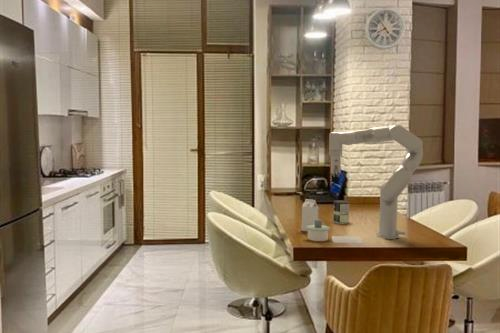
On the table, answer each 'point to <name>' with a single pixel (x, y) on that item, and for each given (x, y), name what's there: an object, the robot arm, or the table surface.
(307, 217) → the milk carton
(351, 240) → the mat
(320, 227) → the lid
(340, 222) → the coffee can
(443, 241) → the table surface
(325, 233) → the bowl
